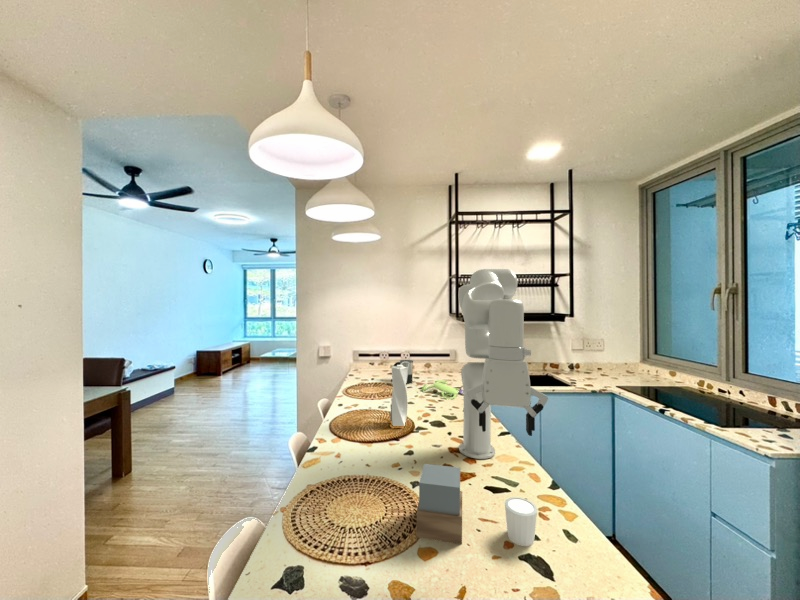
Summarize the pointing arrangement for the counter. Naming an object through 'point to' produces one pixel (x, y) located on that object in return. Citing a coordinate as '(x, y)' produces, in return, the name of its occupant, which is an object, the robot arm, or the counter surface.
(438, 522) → the walnut base block
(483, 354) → the robot arm
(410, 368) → the milk frother
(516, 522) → the shot glass
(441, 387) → the figurine
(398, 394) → the skyscraper
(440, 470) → the slate top block
